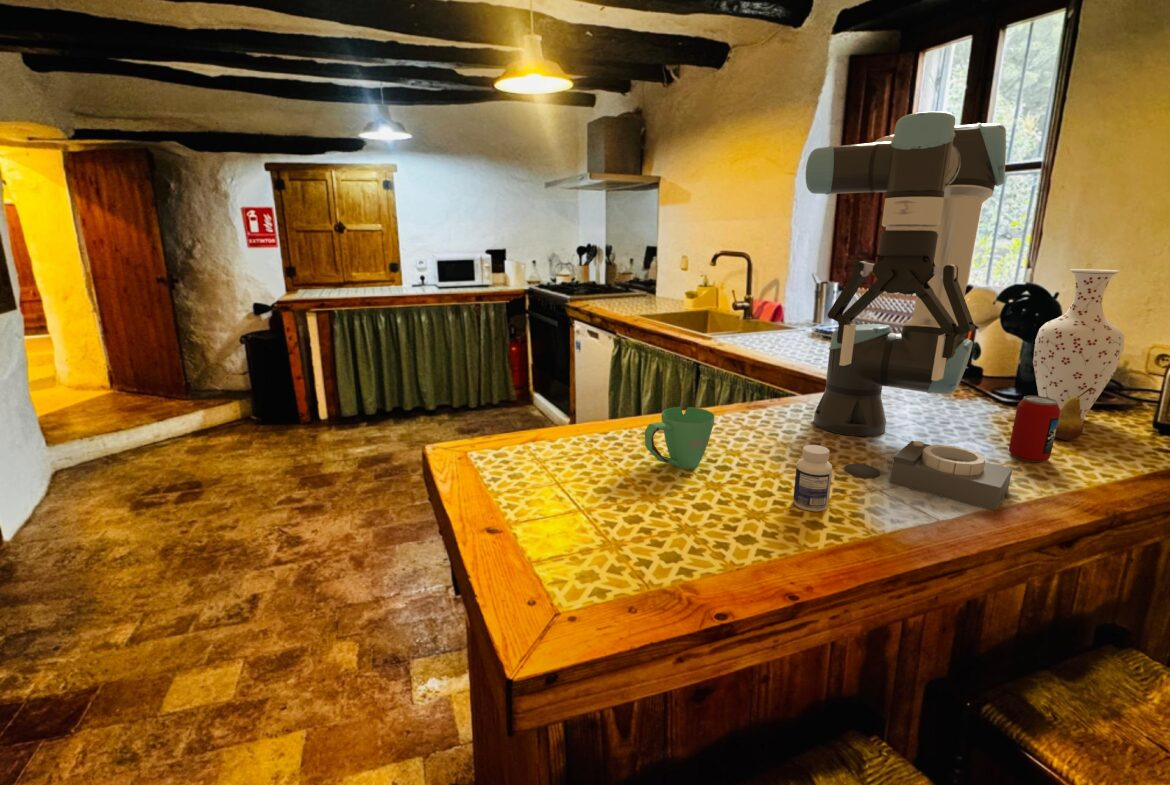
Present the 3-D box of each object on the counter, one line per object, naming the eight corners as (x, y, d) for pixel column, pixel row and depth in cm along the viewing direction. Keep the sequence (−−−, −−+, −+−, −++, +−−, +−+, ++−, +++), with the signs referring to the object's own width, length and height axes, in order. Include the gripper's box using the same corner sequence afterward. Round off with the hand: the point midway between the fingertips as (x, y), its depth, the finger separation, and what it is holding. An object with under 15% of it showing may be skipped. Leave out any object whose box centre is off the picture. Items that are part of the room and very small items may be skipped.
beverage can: (1056, 465, 115) (1070, 405, 112) (1017, 462, 117) (1029, 403, 113) (1038, 452, 122) (1050, 395, 118) (1001, 450, 123) (1012, 393, 120)
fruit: (1060, 433, 133) (1072, 381, 130) (1086, 442, 128) (1100, 388, 125) (1040, 435, 132) (1052, 382, 129) (1066, 444, 126) (1079, 389, 123)
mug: (686, 451, 121) (689, 404, 119) (722, 467, 113) (726, 416, 111) (629, 466, 113) (630, 416, 111) (663, 484, 106) (665, 430, 103)
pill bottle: (799, 495, 102) (805, 440, 99) (832, 504, 98) (839, 448, 96) (787, 505, 98) (793, 449, 95) (821, 515, 94) (828, 457, 92)
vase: (1005, 412, 149) (1034, 268, 140) (1046, 405, 155) (1076, 267, 146) (1078, 431, 135) (1115, 273, 125) (1120, 423, 141) (1158, 271, 131)
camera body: (889, 482, 107) (894, 451, 105) (907, 465, 115) (912, 435, 113) (995, 510, 96) (1003, 475, 95) (1008, 489, 104) (1014, 457, 103)
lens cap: (837, 471, 113) (837, 467, 112) (856, 465, 116) (857, 461, 115) (866, 482, 108) (867, 478, 107) (886, 475, 111) (886, 471, 111)
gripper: (815, 228, 94) (801, 361, 99) (1003, 229, 76) (973, 390, 82) (836, 229, 99) (822, 356, 104) (1017, 229, 81) (988, 382, 87)
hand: (888, 371), depth 93 cm, fingers open, 13 cm apart
